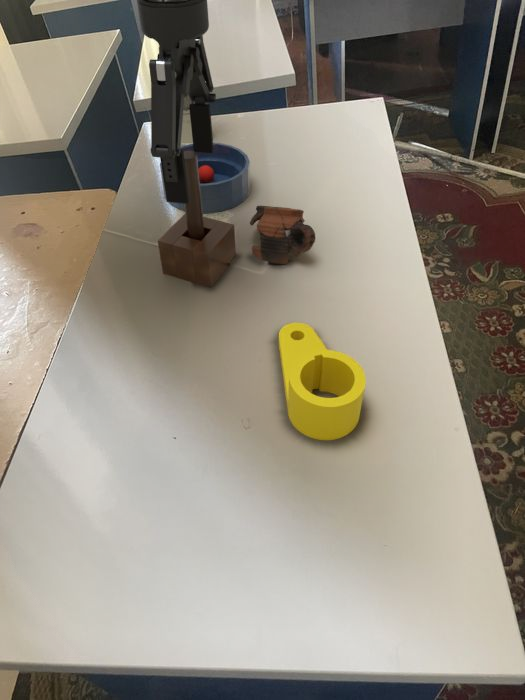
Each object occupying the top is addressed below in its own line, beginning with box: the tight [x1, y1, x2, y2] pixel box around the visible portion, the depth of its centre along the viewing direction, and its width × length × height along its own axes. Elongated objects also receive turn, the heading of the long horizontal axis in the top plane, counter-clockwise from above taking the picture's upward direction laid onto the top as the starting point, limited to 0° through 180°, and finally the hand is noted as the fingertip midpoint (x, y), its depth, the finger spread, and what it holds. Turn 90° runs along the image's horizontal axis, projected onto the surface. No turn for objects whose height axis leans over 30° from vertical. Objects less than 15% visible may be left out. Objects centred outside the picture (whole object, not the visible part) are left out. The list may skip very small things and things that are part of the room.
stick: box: [184, 151, 205, 241], centre depth 80 cm, size 2×2×18 cm
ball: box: [198, 165, 214, 183], centre depth 102 cm, size 3×3×3 cm
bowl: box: [159, 142, 251, 214], centre depth 99 cm, size 15×15×6 cm
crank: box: [278, 322, 367, 441], centre depth 68 cm, size 18×8×6 cm, turn 14°
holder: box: [157, 212, 237, 289], centre depth 85 cm, size 8×8×6 cm
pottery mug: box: [249, 205, 316, 265], centre depth 88 cm, size 12×10×8 cm
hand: (191, 175), depth 76 cm, fingers open, 13 cm apart
